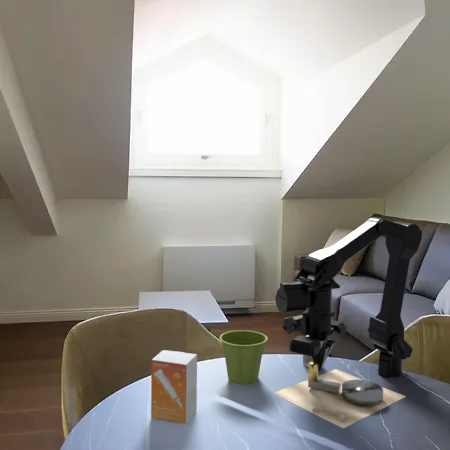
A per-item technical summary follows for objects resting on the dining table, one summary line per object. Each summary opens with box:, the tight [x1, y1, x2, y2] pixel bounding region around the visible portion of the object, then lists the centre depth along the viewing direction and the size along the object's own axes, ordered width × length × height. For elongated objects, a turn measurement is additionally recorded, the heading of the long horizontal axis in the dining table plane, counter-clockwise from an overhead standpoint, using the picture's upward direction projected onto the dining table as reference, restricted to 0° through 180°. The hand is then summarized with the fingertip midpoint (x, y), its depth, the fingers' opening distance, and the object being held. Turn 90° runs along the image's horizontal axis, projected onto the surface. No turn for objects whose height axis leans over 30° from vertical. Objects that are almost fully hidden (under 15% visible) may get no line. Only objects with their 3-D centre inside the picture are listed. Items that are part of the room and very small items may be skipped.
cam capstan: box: [307, 362, 384, 406], centre depth 115 cm, size 17×9×6 cm, turn 64°
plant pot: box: [219, 329, 268, 385], centre depth 124 cm, size 12×12×11 cm
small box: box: [150, 349, 198, 425], centre depth 106 cm, size 8×6×13 cm
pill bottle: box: [302, 334, 313, 368], centre depth 133 cm, size 5×5×8 cm
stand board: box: [272, 368, 407, 429], centre depth 115 cm, size 23×20×2 cm
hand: (318, 370), depth 120 cm, fingers closed
